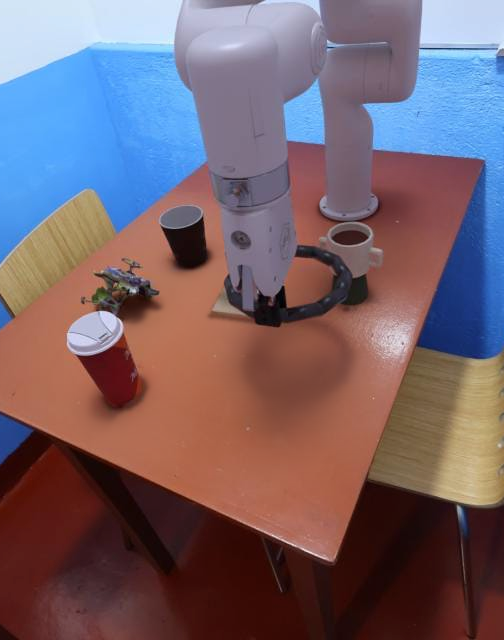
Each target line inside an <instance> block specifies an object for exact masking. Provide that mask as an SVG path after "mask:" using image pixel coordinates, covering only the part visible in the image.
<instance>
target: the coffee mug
mask: <svg viewBox="0 0 504 640" xmlns="http://www.w3.org/2000/svg"><path fill="white" fill-rule="evenodd" d="M158 223H159V226H160V228H161V231H162V232H163V234H164V237H165V239H166V241H167V243H168V246H169V248H170V250H171V252H172V254H173V257H174V259H175V261H176V263H177V265H178V266H179V267H180V268H182V269H194V268H198V267H200V266H202V265H203V264H205V263H206V262H207V261H208V247H207V238H206V227H205V218H204V210H203V209H202V208H201V207H200V206H198V205H195V204H183V205H182V204H181V205H177V206H174V207H171V208H168V209H167V210H165V211H164V212H162V213H161V215H160V216H159V218H158Z"/></svg>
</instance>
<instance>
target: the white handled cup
mask: <svg viewBox="0 0 504 640" xmlns="http://www.w3.org/2000/svg"><path fill="white" fill-rule="evenodd" d="M325 244H326V246H325ZM318 247H319V248H322V249H324V250H327V251H329V252H331V253H334V254H336V255H338V256H340V257H341V258H342V260H343V261H344V263H345V264H346V265H347V267H348V268H349V270H350V271H351V273H352V275H353V279H352V282H351V285H350V289H349V292H348V295H347V298H346V299H345V300H344V301H343V302H341V303H340V304H339V305H343V306H356V305H359V304H362V303H363V302H365V300H367V299H368V296H369V284H368V279H367V278H368V277H367V272H368V271H369V270H370V269H371V267H375V268H382V266H383V263H384V261H383V260H384V250H383V249H381V248H377V247H374V232H373V230H372V228H371V227H370V226H368V225H367V224H365V223H362V222H360V221H359V222H358V221H345V222H340V223H339V224H335V225H334V226H332V227H330V229H329V230H328V231H327V234H326V236H320V237H318ZM325 247H326V248H325ZM373 255H375V256H376V259H373ZM328 269H329V271H330V272H331V273H332V274H333V276H332V282H331V289H330V290H331V291H330V292H332V291H333V290H334V289H335V286H336V283H337V280H338V277H337V275H336V274H335V272H334V270H333V269H332V267H330V266H328Z"/></svg>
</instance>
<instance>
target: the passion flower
mask: <svg viewBox="0 0 504 640" xmlns="http://www.w3.org/2000/svg"><path fill="white" fill-rule="evenodd" d="M121 261H122V262H123V263H126V264H128V265H129V269H128V270H126V271H124V270H123V269H122V268H118V267H115V266H106V268H104V270H101V271H100V273H99V272H96V270H92V273H93V275H94V276H96V277H97V278H100V279H102V280H103V281H104V282H105V285H106V287H104V286H103V285H101V286H100V287H97V288H96V289H95V293H93V294H92V295H91V300H88V299H87V300H86V296H81V297H80V303H81V304H82V305H85V304H86V303H91V304H93V306H97V305H99V304H100V310H99V311H105V308H106V307H107V306H109V308H110V310H111V313H112V314H113V315H115V316H116V317H117V314H118V313H119V312H120V310H121V309H122V306H121V305H122V304H123V303H124V300H125V299H126V298H127V297H129V296H131V297H134V296H136V295H139V296H141V297H142V298H146V299H153V296H159V295H160V290H157V289H154V288H153V283H152V282H150V280H149V279H144V278H142V277H139V276H138V275H136V274H135V273H134V272H133V269H141V268H144V266H142V265H141V264H140V263H139V262H136V261H135V260H131V259H128V258H125V257H121ZM115 284H116V285H115ZM114 292H119V295H118V298H117V299H115V298H114V296H113V293H114ZM123 292H124V293H125V294H124V296H123V298H122V299H121V295H122V293H123ZM110 301H111V302H113V303H114V304H111V303H109V302H110Z"/></svg>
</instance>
